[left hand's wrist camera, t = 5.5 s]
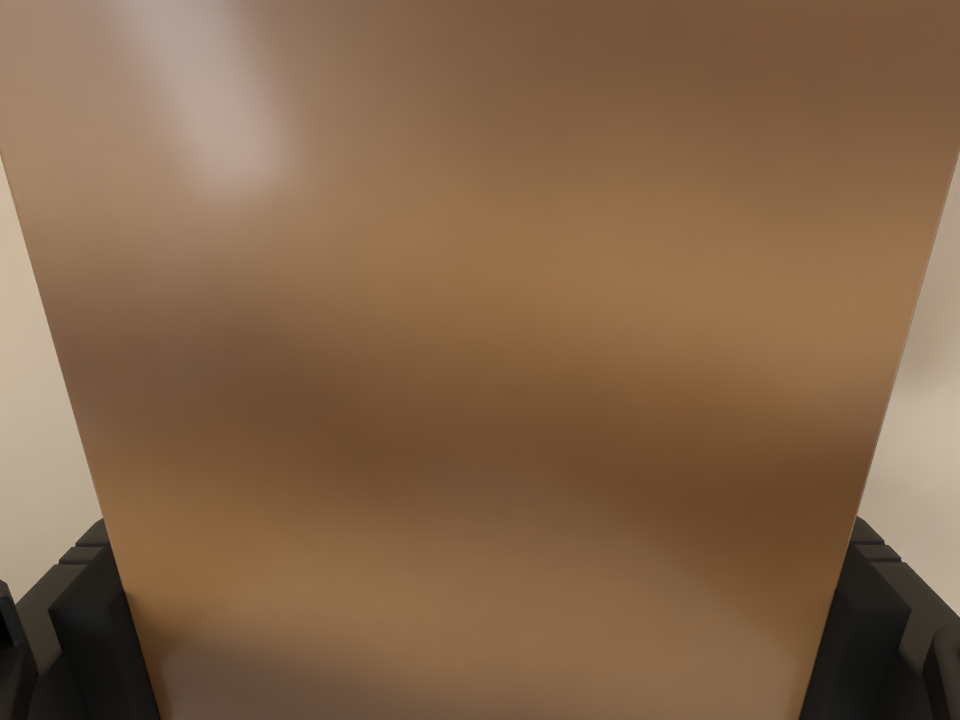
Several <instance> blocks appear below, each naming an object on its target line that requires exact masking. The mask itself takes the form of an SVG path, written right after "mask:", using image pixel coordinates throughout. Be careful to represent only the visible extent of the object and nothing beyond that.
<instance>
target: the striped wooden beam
mask: <svg viewBox="0 0 960 720" xmlns="http://www.w3.org/2000/svg"><path fill="white" fill-rule="evenodd" d="M959 152H960V0H0V155H1V159H2V162H3V166H4V169H5V173H6V176H7V180H8V183H9V187H10V190H11V194H12V197H13V201H14V204H15V208H16V212H17V215H18V219H19V222H20V226H21V229H22V233H23V236H24V240H25V243H26V247H27V250H28V254H29V257H30V261H31V264H32V268H33V272H34V275H35V279H36V282H37V286H38V289H39V293H40V296H41V300H42V303H43V307H44V310H45V314H46V317H47V321H48V325H49V328H50V332H51V335H52V339H53V342H54V346H55V349H56V353H57V356H58V360H59V363H60V367H61V370H62V374H63V377H64V381H65V385H66V388H67V392H68V395H69V399H70V402H71V406H72V409H73V413H74V416H75V420H76V423H77V427H78V430H79V434H80V437H81V441H82V445H83V448H84V452H85V455H86V459H87V462H88V466H89V469H90V473H91V476H92V480H93V483H94V487H95V490H96V494H97V497H98V501H99V505H100V508H101V512H102V515H103V519H104V522H105V526H106V529H107V533H108V536H109V540H110V543H111V547H112V550H113V554H114V558H115V561H116V565H117V568H118V572H119V575H120V579H121V582H122V586H123V589H124V593H125V596H126V600H127V603H128V607H129V610H130V614H131V618H132V621H133V625H134V628H135V632H136V635H137V639H138V642H139V646H140V649H141V653H142V656H143V660H144V663H145V667H146V670H147V674H148V678H149V681H150V685H151V688H152V692H153V695H154V699H155V702H156V706H157V709H158V713H159V716H160V720H799V718H800V714H801V711H802V707H803V704H804V700H805V697H806V693H807V690H808V686H809V683H810V679H811V675H812V672H813V668H814V665H815V661H816V658H817V654H818V651H819V647H820V644H821V640H822V637H823V633H824V629H825V626H826V622H827V619H828V615H829V612H830V608H831V605H832V601H833V598H834V594H835V591H836V587H837V583H838V580H839V576H840V573H841V569H842V566H843V562H844V559H845V555H846V552H847V548H848V545H849V541H850V537H851V534H852V530H853V527H854V523H855V520H856V516H857V513H858V509H859V506H860V502H861V499H862V495H863V491H864V488H865V484H866V481H867V477H868V474H869V470H870V467H871V463H872V460H873V456H874V453H875V449H876V446H877V442H878V438H879V435H880V431H881V428H882V424H883V421H884V417H885V414H886V410H887V407H888V403H889V400H890V396H891V392H892V389H893V385H894V382H895V378H896V375H897V371H898V368H899V364H900V361H901V357H902V354H903V350H904V346H905V343H906V339H907V336H908V332H909V329H910V325H911V322H912V318H913V315H914V311H915V308H916V304H917V300H918V297H919V293H920V290H921V286H922V283H923V279H924V276H925V272H926V269H927V265H928V262H929V258H930V254H931V251H932V247H933V244H934V240H935V237H936V233H937V230H938V226H939V223H940V219H941V216H942V212H943V208H944V205H945V201H946V198H947V194H948V191H949V187H950V184H951V180H952V177H953V173H954V170H955V166H956V163H957V159H958V155H959Z"/></svg>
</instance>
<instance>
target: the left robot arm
mask: <svg viewBox="0 0 960 720" xmlns="http://www.w3.org/2000/svg"><path fill="white" fill-rule="evenodd" d="M0 720H160V716H159V713H158V709H157V706H156V702H155V699H154V695H153V692H152V688H151V685H150V681H149V678H148V674H147V670H146V667H145V663H144V660H143V656H142V653H141V649H140V646H139V642H138V639H137V635H136V632H135V628H134V625H133V621H132V618H131V614H130V610H129V607H128V603H127V600H126V596H125V593H124V589H123V586H122V582H121V579H120V575H119V572H118V568H117V565H116V561H115V558H114V554H113V550H112V547H111V543H110V540H109V536H108V533H107V529H106V526H105V522H104V519H103V518H102V519H101V520H99V521H97V522H96V523H95V524H94V525H93V526H92V527H91V528H90V529H89V530H88V531H87V532H86V533H85V534H84V535H83V536H82V537H81V538H80V539H79V540H78V541H77V542H76V546H75V547H71V548H70V549H69V550H68V551H67V552H66V553H65V554H64V555H63V557H62V558H61V559H60V560H59V564H58V565H54V566H53V567H52V568H51V569H50V570H49V571H48V572H47V573H46V574H45V575H44V576H43V577H42V578H41V579H40V580H39V581H38V582H37V583H36V584H35V585H34V586H33V587H32V588H31V589H30V590H29V591H28V592H27V593H26V594H25V595H24V596H23V597H22V599H21V600H20V601H19V602H18V603H17V604H16V605H15V604H14V601H13V599H12V596H11V593H10V591H9V588H8V585H7V584H6V583H5V582H3V581H2V580H0ZM799 720H960V617H959V616H958V615H957V614H956V613H955V612H954V611H953V610H952V609H951V608H950V607H949V606H948V605H947V604H946V603H945V602H944V601H943V600H942V599H941V598H940V597H939V596H938V595H937V594H936V593H935V592H934V591H933V590H932V589H931V588H930V587H929V586H928V585H927V584H926V583H925V582H924V581H923V580H922V579H921V578H920V577H919V576H918V575H917V574H916V573H915V572H914V571H913V570H912V568H911V567H910V566H909V565H908V564H907V563H906V562H902V561H901V557H900V556H899V555H898V554H897V553H896V552H895V551H894V550H893V549H892V548H891V547H890V546H889V545H885V543H884V540H883V539H882V538H881V537H880V536H879V535H878V534H877V533H876V532H875V531H874V530H873V529H872V528H871V527H870V526H869V525H868V524H867V523H866V522H865V521H864V520H863V519H861V518H859V517H858V516H856V520H855V523H854V527H853V530H852V534H851V537H850V541H849V545H848V548H847V552H846V555H845V559H844V562H843V566H842V569H841V573H840V576H839V580H838V583H837V587H836V591H835V594H834V598H833V601H832V605H831V608H830V612H829V615H828V619H827V622H826V626H825V629H824V633H823V637H822V640H821V644H820V647H819V651H818V654H817V658H816V661H815V665H814V668H813V672H812V675H811V679H810V683H809V686H808V690H807V693H806V697H805V700H804V704H803V707H802V711H801V714H800V718H799Z"/></svg>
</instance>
